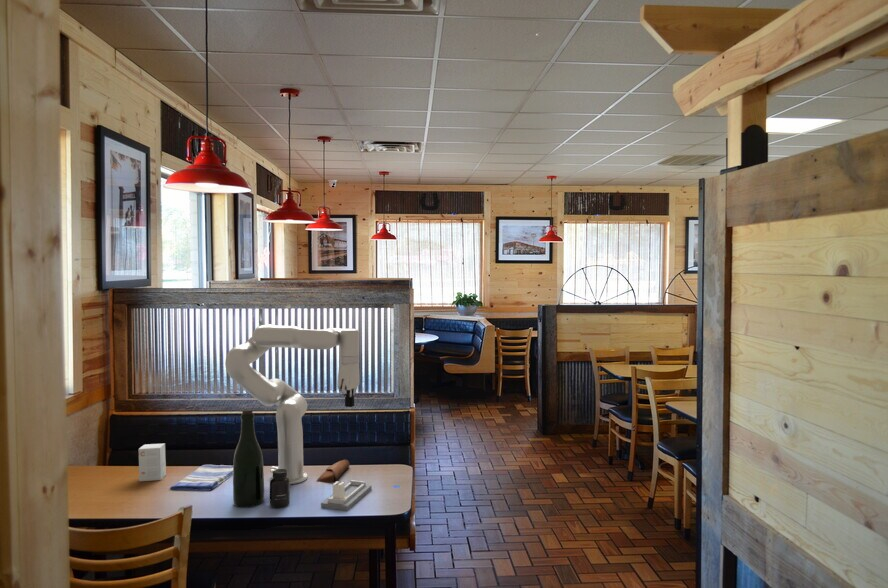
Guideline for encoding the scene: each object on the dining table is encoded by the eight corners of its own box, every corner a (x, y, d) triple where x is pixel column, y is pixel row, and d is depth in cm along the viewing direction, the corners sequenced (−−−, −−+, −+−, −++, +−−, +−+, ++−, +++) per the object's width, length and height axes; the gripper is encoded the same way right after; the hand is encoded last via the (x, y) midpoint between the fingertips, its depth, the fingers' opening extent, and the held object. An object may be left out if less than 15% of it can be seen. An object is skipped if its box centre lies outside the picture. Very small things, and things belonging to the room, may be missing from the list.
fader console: (347, 510, 190) (347, 501, 190) (321, 507, 193) (321, 498, 193) (371, 489, 209) (371, 481, 209) (347, 486, 212) (347, 478, 212)
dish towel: (241, 470, 232) (240, 464, 232) (212, 492, 209) (212, 485, 209) (201, 469, 234) (201, 463, 234) (168, 491, 210) (168, 483, 210)
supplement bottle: (279, 510, 191) (278, 475, 191) (265, 506, 195) (265, 472, 194) (294, 503, 197) (293, 469, 196) (280, 499, 200) (280, 466, 200)
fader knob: (340, 502, 193) (340, 484, 193) (332, 501, 194) (332, 483, 194) (344, 499, 196) (344, 481, 196) (337, 498, 197) (336, 480, 197)
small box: (166, 474, 226) (165, 443, 226) (160, 480, 220) (160, 447, 220) (144, 476, 225) (144, 444, 225) (138, 481, 219) (138, 448, 219)
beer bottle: (250, 494, 205) (249, 405, 204) (270, 500, 200) (269, 408, 199) (226, 504, 196) (225, 411, 195) (246, 510, 191) (245, 414, 190)
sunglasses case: (330, 466, 235) (337, 453, 235) (344, 475, 235) (351, 462, 234) (315, 481, 217) (323, 467, 217) (330, 491, 217) (338, 477, 216)
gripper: (350, 357, 228) (350, 401, 228) (331, 362, 214) (331, 409, 214) (366, 357, 225) (366, 403, 226) (348, 363, 211) (349, 411, 212)
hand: (349, 406), depth 220 cm, fingers closed
